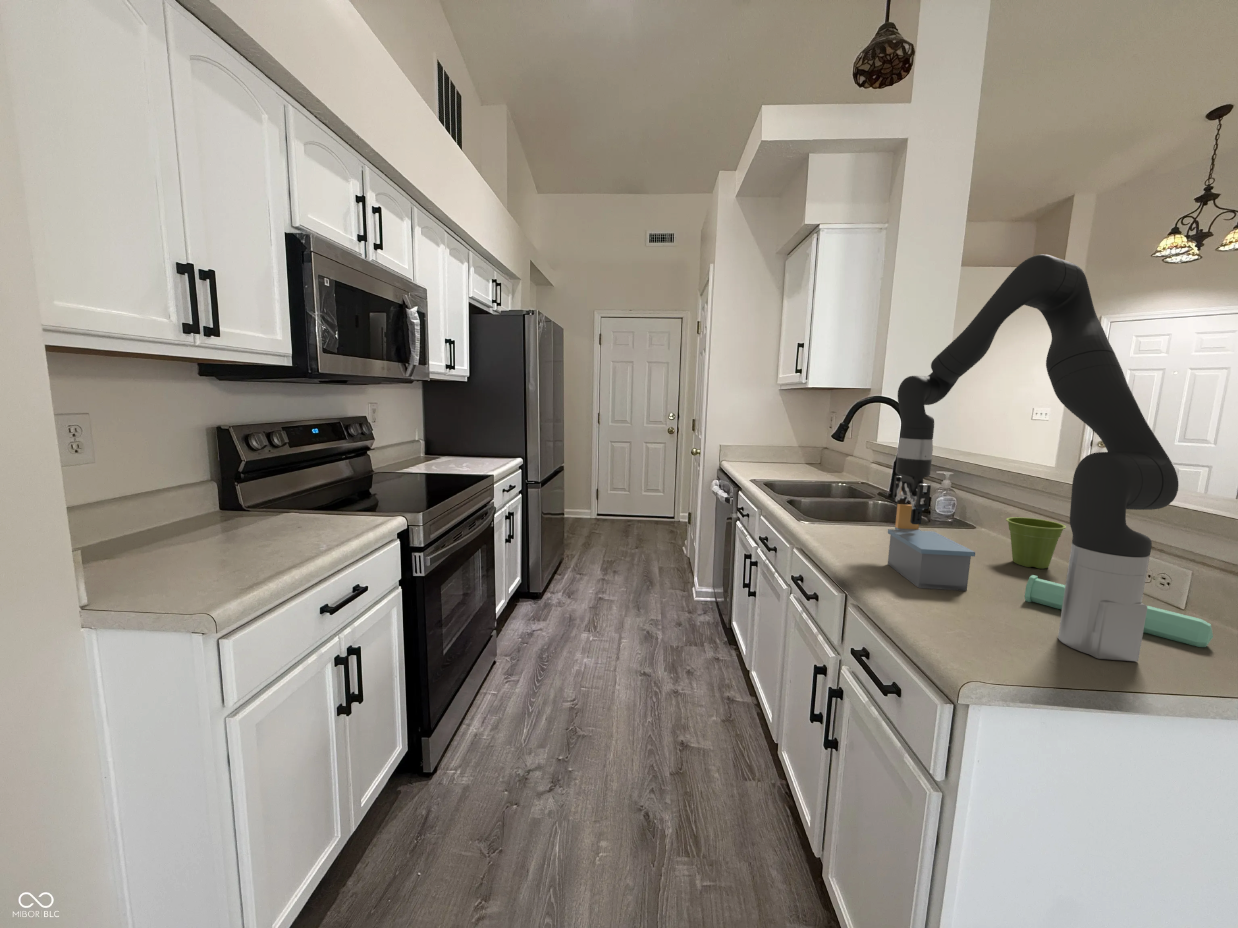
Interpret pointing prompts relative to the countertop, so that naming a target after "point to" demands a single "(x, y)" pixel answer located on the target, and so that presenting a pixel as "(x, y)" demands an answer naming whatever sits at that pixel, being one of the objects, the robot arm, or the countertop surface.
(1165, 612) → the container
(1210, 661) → the countertop surface
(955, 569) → the storage box
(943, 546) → the lid
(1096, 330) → the robot arm
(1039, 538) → the plant pot
